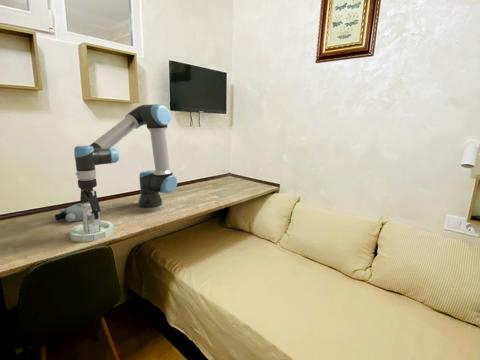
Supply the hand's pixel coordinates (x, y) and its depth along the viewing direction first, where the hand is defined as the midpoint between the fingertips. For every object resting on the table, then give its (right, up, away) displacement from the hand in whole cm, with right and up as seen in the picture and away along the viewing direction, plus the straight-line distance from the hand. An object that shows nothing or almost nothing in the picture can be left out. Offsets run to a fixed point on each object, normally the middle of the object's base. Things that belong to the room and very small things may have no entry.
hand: (91, 221), depth 122 cm
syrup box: (0, -5, +1) cm, 5 cm away
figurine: (-20, -2, +21) cm, 29 cm away
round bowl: (0, -6, +1) cm, 6 cm away
